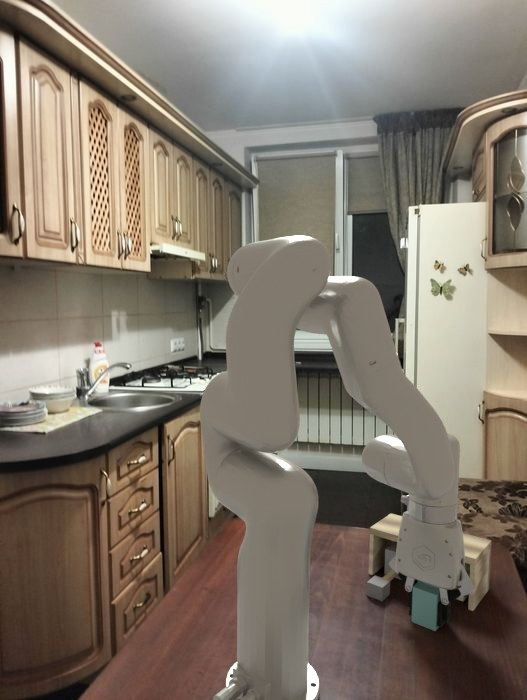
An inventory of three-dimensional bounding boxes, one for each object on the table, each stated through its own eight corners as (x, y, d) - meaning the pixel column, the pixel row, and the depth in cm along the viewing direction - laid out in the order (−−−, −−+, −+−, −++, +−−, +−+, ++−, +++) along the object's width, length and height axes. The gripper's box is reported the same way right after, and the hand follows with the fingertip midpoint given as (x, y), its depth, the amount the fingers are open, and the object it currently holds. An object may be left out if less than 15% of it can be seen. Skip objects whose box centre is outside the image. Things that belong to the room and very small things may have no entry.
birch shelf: (473, 611, 92) (475, 558, 91) (368, 573, 105) (369, 527, 104) (489, 589, 99) (491, 540, 98) (389, 556, 112) (390, 513, 111)
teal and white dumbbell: (438, 632, 86) (440, 596, 86) (408, 620, 89) (409, 585, 89) (472, 589, 99) (474, 558, 99) (445, 580, 102) (446, 549, 102)
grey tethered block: (387, 603, 95) (388, 575, 94) (361, 593, 98) (362, 566, 97) (419, 572, 105) (420, 547, 105) (395, 564, 109) (396, 540, 108)
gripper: (374, 503, 90) (371, 609, 92) (478, 531, 80) (472, 650, 81) (394, 491, 96) (391, 591, 98) (493, 515, 85) (488, 626, 87)
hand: (428, 616), depth 89 cm, fingers closed on teal and white dumbbell, 4 cm apart
